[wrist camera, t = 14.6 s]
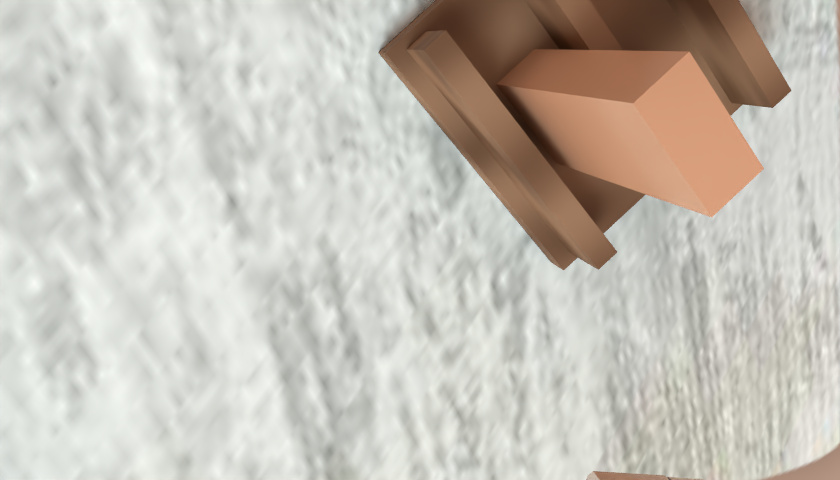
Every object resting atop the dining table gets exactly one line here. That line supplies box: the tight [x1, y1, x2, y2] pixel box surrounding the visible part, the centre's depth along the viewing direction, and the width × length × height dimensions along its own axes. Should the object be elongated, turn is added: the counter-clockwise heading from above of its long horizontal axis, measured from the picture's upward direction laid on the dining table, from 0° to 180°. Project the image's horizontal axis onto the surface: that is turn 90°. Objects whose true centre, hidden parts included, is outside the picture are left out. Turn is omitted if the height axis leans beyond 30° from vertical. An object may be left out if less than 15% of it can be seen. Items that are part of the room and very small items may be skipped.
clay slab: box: [496, 49, 764, 217], centre depth 30 cm, size 5×2×12 cm, turn 40°
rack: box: [379, 0, 791, 270], centre depth 35 cm, size 14×14×4 cm
